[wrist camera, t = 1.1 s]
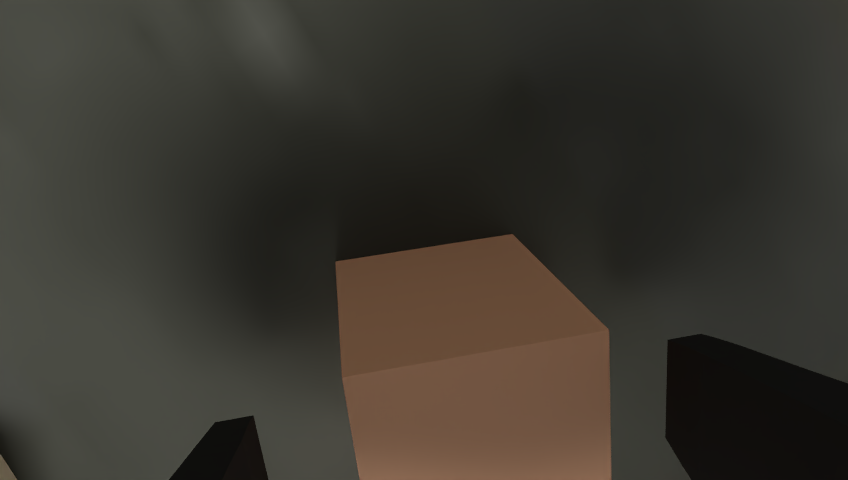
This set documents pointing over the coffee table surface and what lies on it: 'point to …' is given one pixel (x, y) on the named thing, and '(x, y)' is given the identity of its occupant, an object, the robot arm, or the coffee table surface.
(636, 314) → the coffee table surface
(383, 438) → the block
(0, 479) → the bottom slab
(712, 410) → the robot arm
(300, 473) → the coffee table surface
